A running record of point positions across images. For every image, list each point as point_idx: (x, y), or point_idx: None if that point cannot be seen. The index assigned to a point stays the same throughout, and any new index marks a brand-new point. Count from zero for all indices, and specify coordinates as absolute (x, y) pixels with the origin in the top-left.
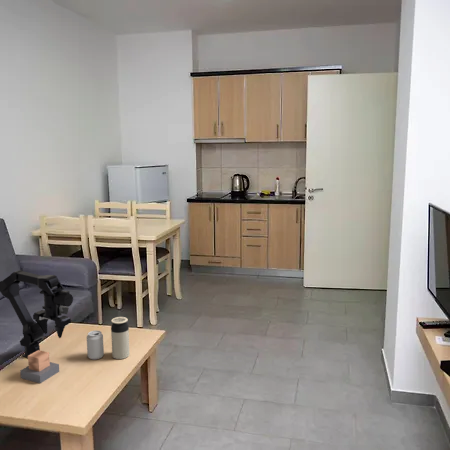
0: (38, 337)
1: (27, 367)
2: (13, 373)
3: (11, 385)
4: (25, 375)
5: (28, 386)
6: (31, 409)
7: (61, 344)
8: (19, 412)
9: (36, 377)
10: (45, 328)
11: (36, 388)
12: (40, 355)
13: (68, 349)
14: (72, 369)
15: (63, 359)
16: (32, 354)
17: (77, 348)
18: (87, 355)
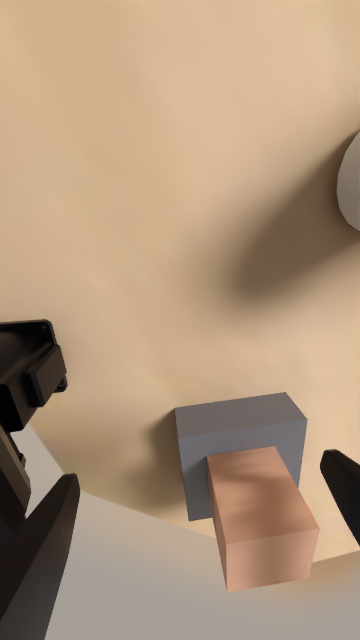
0: (7, 459)
1: (193, 498)
2: (127, 482)
3: None
4: None
5: None
6: (347, 535)
7: (11, 138)
8: (327, 551)
9: None
10: (39, 594)
11: None
12: (294, 562)
13: (137, 185)
14: (329, 353)
15: (218, 306)
16: (238, 577)
17: (182, 133)
18: (353, 222)
